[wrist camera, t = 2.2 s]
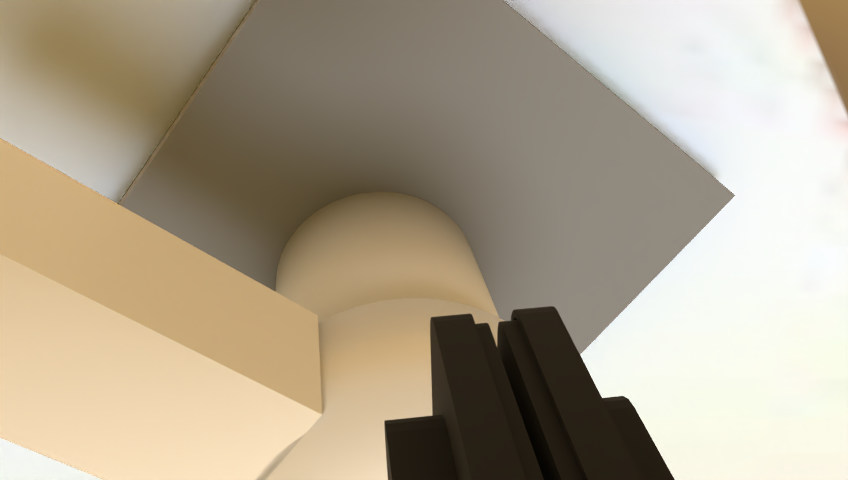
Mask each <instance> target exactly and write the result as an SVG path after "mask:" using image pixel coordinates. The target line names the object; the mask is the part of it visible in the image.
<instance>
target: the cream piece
mask: <svg viewBox="0 0 848 480" xmlns="http://www.w3.org/2000/svg"><path fill="white" fill-rule="evenodd" d="M459 314H472V316H473V318H474V321H475V324H478V323H488V324H489V326H490V329H491V332H492V334H493V337H494V340H495V343H496V346H497V331H498V323H499V322H500V321H504V320H502V319H500V318H499V317H497V316H495V315H493V314H491V313H489V312H486V311H484V310H481V309H478V308H476V307H473V306H470V305H466V304H462V303H458V302H454V301H449V300H440V299H431V298H401V299H393V300H384V301H379V302H374V303H370V304H366V305H361V306H358V307H355V308H352V309H349V310H346V311H344V312H341V313H338V314H336V315H334V316H332V317H329V318H327V319H325V320H323V321H321V322H319V323H318V315H316V314H314V313H313V312H311V311H309V310H307V309H305V308H304V307H302V306H300V305H298V304H296V303H295V302H293V301H291V300H289V299H288V298H286V297H284V296H282V295H280V294H279V293H277V292H275V291H273V290H271V289H270V288H268V287H266V286H264V285H262V284H261V283H259V282H257V281H255V280H253V279H252V278H250V277H248V276H246V275H244V274H243V273H241V272H239V271H237V270H236V269H234V268H232V267H230V266H228V265H227V264H225V263H223V262H221V261H219V260H218V259H216V258H214V257H212V256H210V255H209V254H207V253H205V252H203V251H201V250H200V249H198V248H196V247H194V246H192V245H191V244H189V243H187V242H185V241H183V240H182V239H180V238H178V237H176V236H175V235H173V234H171V233H169V232H167V231H166V230H164V229H162V228H160V227H158V226H157V225H155V224H153V223H151V222H149V221H148V220H146V219H144V218H142V217H140V216H139V215H137V214H135V213H133V212H131V211H130V210H128V209H126V208H124V207H123V206H121V205H119V204H117V203H115V202H114V201H112V200H110V199H108V198H106V197H105V196H103V195H101V194H99V193H97V192H96V191H94V190H92V189H90V188H88V187H87V186H85V185H83V184H81V183H79V182H78V181H76V180H74V179H72V178H71V177H69V176H67V175H65V174H63V173H62V172H60V171H58V170H56V169H54V168H53V167H51V166H49V165H47V164H45V163H44V162H42V161H40V160H38V159H36V158H35V157H33V156H31V155H29V154H27V153H26V152H24V151H22V150H20V149H19V148H17V147H15V146H13V145H11V144H10V143H8V142H6V141H4V140H2V139H1V138H0V438H2V439H5V440H7V441H10V442H12V443H15V444H17V445H20V446H22V447H24V448H27V449H29V450H32V451H34V452H37V453H39V454H42V455H44V456H47V457H49V458H51V459H54V460H56V461H59V462H61V463H64V464H66V465H69V466H71V467H74V468H76V469H78V470H81V471H83V472H86V473H88V474H91V475H93V476H96V477H98V478H101V479H103V480H388V475H387V460H386V445H385V428H384V421H385V420H394V419H404V418H414V417H424V416H432V380H431V345H430V319H431V317H437V316H448V315H459Z"/></svg>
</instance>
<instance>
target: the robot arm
mask: <svg viewBox="0 0 848 480" xmlns="http://www.w3.org/2000/svg"><path fill="white" fill-rule="evenodd" d="M430 345H431V380H432V416H424V417H414V418H404V419H394V420H385V421H384V428H385V445H386V460H387V475H388V480H674V478H673V476H672V474H671V473H670V471H669V469H668V467H667V465H666V464H665V462H664V460H663V458H662V456H661V455H660V453H659V451H658V449H657V447H656V446H655V444H654V442H653V440H652V438H651V437H650V435H649V433H648V431H647V429H646V428H645V426H644V424H643V422H642V420H641V419H640V417H639V415H638V413H637V411H636V410H635V408H634V406H633V405H632V404H631V402H630V401H629V399H627V398H625V397H624V396H619V397H610V398H602V397H601V395H600V394H599V392H598V390H597V388H596V386H595V384H594V382H593V380H592V378H591V376H590V374H589V372H588V370H587V368H586V366H585V364H584V362H583V360H582V358H581V356H580V354H579V352H578V350H577V348H576V346H575V344H574V342H573V340H572V338H571V336H570V334H569V332H568V331H567V329H566V327H565V325H564V323H563V321H562V319H561V317H560V315H559V313H558V311H557V309H556V308H555V307H553V306H548V307H536V308H525V309H514V310H513V311H512V315H511V321H500V322H499V323H498V331H497V346H496V343H495V340H494V337H493V334H492V332H491V329H490V326H489V324H488V323H478V324H475V321H474V318H473V316H472V314H459V315H448V316H437V317H431V319H430Z"/></svg>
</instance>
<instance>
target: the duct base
mask: <svg viewBox="0 0 848 480" xmlns="http://www.w3.org/2000/svg"><path fill="white" fill-rule="evenodd" d="M734 196H735V195H734V194H733V193H732V192H730V191H729V190H728V189H727V188H726V187H725V186H723V185H722V184H721V183H720V182H719V181H718V180H716V179H715V178H714V177H713V176H712V175H710V174H709V173H708V172H707V171H706V170H704V169H703V168H702V167H701V166H700V165H698V164H697V163H696V162H695V161H694V160H692V159H691V158H690V157H689V156H688V155H687V154H685V153H684V152H683V151H682V150H681V149H679V148H678V147H677V146H676V145H675V144H673V143H672V142H671V141H670V140H669V139H667V138H666V137H665V136H664V135H663V134H662V133H660V132H659V131H658V130H657V129H656V128H654V127H653V126H652V125H651V124H650V123H648V122H647V121H646V120H645V119H644V118H642V117H641V116H640V115H639V114H638V113H636V112H635V111H634V110H633V109H632V108H631V107H629V106H628V105H627V104H626V103H625V102H623V101H622V100H621V99H620V98H619V97H617V96H616V95H615V94H614V93H613V92H611V91H610V90H609V89H608V88H607V87H605V86H604V85H603V84H602V83H601V82H600V81H598V80H597V79H596V78H595V77H594V76H592V75H591V74H590V73H589V72H588V71H586V70H585V69H584V68H583V67H582V66H580V65H579V64H578V63H577V62H576V61H574V60H573V59H572V58H571V57H570V56H569V55H567V54H566V53H565V52H564V51H563V50H561V49H560V48H559V47H558V46H557V45H555V44H554V43H553V42H552V41H551V40H549V39H548V38H547V37H546V36H545V35H543V34H542V33H541V32H540V31H539V30H538V29H536V28H535V27H534V26H533V25H532V24H530V23H529V22H528V21H527V20H526V19H524V18H523V17H522V16H521V15H520V14H518V13H517V12H516V11H515V10H514V9H512V8H511V7H510V6H509V5H508V4H507V3H505V2H504V1H503V0H256V1H255V3H254V4H253V6H252V7H251V9H250V10H249V12H248V13H247V14H246V16H245V17H244V19H243V20H242V22H241V23H240V25H239V26H238V28H237V29H236V31H235V32H234V34H233V35H232V37H231V38H230V40H229V41H228V43H227V44H226V46H225V47H224V48H223V50H222V51H221V53H220V54H219V56H218V57H217V59H216V60H215V62H214V63H213V65H212V66H211V68H210V69H209V71H208V72H207V74H206V75H205V77H204V78H203V80H202V81H201V83H200V84H199V85H198V87H197V88H196V90H195V91H194V93H193V94H192V96H191V97H190V99H189V100H188V102H187V103H186V105H185V106H184V108H183V109H182V111H181V112H180V114H179V115H178V117H177V118H176V119H175V121H174V122H173V124H172V125H171V127H170V128H169V130H168V131H167V133H166V134H165V136H164V137H163V139H162V140H161V142H160V143H159V145H158V146H157V148H156V149H155V151H154V152H153V153H152V155H151V156H150V158H149V159H148V161H147V162H146V164H145V165H144V167H143V168H142V170H141V171H140V173H139V174H138V176H137V177H136V179H135V180H134V182H133V183H132V185H131V186H130V188H129V189H128V190H127V192H126V193H125V195H124V196H123V198H122V199H121V201H120V202H119V205H121V206H123V207H124V208H126V209H128V210H130V211H131V212H133V213H135V214H137V215H139V216H140V217H142V218H144V219H146V220H148V221H149V222H151V223H153V224H155V225H157V226H158V227H160V228H162V229H164V230H166V231H167V232H169V233H171V234H173V235H175V236H176V237H178V238H180V239H182V240H183V241H185V242H187V243H189V244H191V245H192V246H194V247H196V248H198V249H200V250H201V251H203V252H205V253H207V254H209V255H210V256H212V257H214V258H216V259H218V260H219V261H221V262H223V263H225V264H227V265H228V266H230V267H232V268H234V269H236V270H237V271H239V272H241V273H243V274H244V275H246V276H248V277H250V278H252V279H253V280H255V281H257V282H259V283H261V284H262V285H264V286H266V287H268V288H270V289H271V290H273V291H275V292H277V293H279V294H280V295H282V296H284V297H286V298H288V299H289V300H291V301H293V302H295V303H296V304H298V305H300V306H302V307H304V308H305V309H307V310H309V311H311V312H313V313H314V314H316V315H318V323H319V322H321V321H323V320H325V319H327V318H329V317H332V316H334V315H336V314H338V313H341V312H344V311H346V310H349V309H352V308H355V307H358V306H361V305H366V304H370V303H374V302H379V301H384V300H393V299H401V298H431V299H440V300H449V301H454V302H458V303H462V304H466V305H470V306H473V307H476V308H478V309H481V310H484V311H486V312H489V313H491V314H493V315H495V316H497V317H499V318H500V319H502V320H504V321H511V315H512V311H513V310H514V309H525V308H536V307H548V306H553V307H555V308H556V309H557V311H558V313H559V315H560V317H561V319H562V321H563V323H564V325H565V327H566V329H567V331H568V332H569V334H570V336H571V338H572V340H573V342H574V344H575V346H576V348H577V350H578V352H579V354H581V353H582V352H583V351H584V350H585V349H586V348H587V347H588V346H589V345H590V344H591V343H592V342H593V341H594V340H595V339H596V338H597V337H598V336H599V334H600V333H601V332H602V331H603V330H604V329H605V328H606V327H607V326H608V325H609V324H610V323H611V322H612V321H613V320H614V319H615V318H616V317H617V316H618V315H619V314H620V313H621V312H622V311H623V310H624V309H625V308H626V307H627V306H628V305H629V304H630V303H631V302H632V301H633V300H634V299H635V298H636V297H637V296H638V294H639V293H640V292H641V291H642V290H643V289H644V288H645V287H646V286H647V285H648V284H649V283H650V282H651V281H652V280H653V279H654V278H655V277H656V276H657V275H658V274H659V273H660V272H661V271H662V270H663V269H664V268H665V267H666V266H667V265H668V264H669V263H670V262H671V261H672V260H673V259H674V258H675V257H676V256H677V254H678V253H679V252H680V251H681V250H682V249H683V248H684V247H685V246H686V245H687V244H688V243H689V242H690V241H691V240H692V239H693V238H694V237H695V236H696V235H697V234H698V233H699V232H700V231H701V230H702V229H703V228H704V227H705V226H706V225H707V224H708V223H709V222H710V221H711V220H712V219H713V218H714V217H715V216H716V214H717V213H718V212H719V211H720V210H721V209H722V208H723V207H724V206H725V205H726V204H727V203H728V202H729V201H730V200H731V199H732V198H733V197H734Z"/></svg>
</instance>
